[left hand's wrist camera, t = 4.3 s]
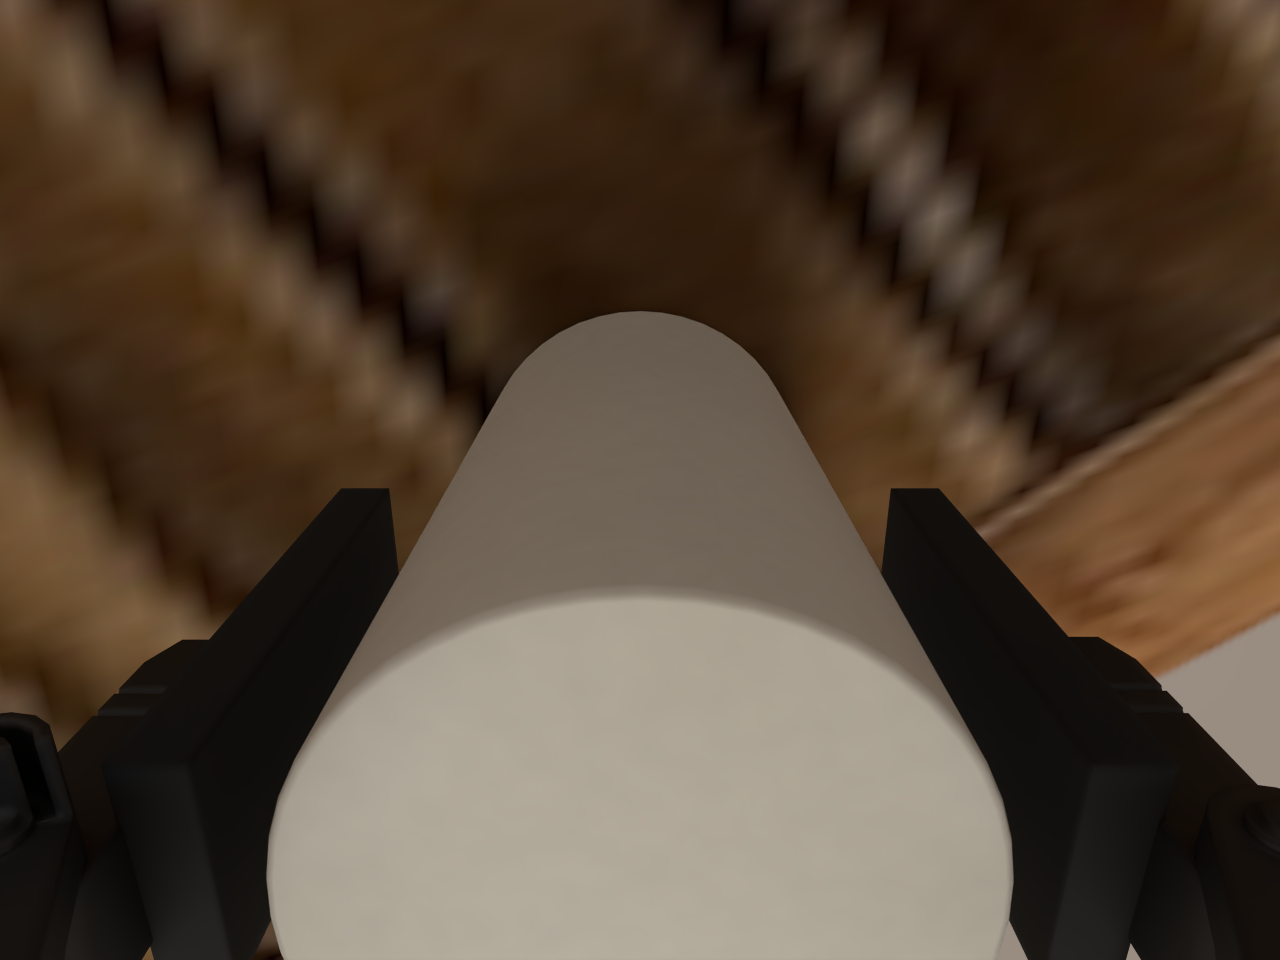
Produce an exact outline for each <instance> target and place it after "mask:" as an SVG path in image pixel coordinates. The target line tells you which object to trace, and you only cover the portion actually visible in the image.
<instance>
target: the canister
mask: <svg viewBox="0 0 1280 960" xmlns="http://www.w3.org/2000/svg"><path fill="white" fill-rule="evenodd" d="M266 875H267V888H268V897H269V906H270V915H271V920H272V923H273V927H274V930H275V934H276V937H277V941H278V944H279V948H280V951H281V954H282V956H283V958H284V960H996V959H997V957H998V954H999V951H1000V948H1001V944H1002V941H1003V938H1004V934H1005V931H1006V927H1007V924H1008V921H1009V915H1010V906H1011V898H1012V890H1013V880H1014V875H1013V854H1012V837H1011V833H1010V829H1009V824H1008V820H1007V815H1006V811H1005V807H1004V802H1003V799H1002V797H1001V794H1000V792H999V789H998V787H997V785H996V782H995V780H994V778H993V775H992V773H991V770H990V768H989V766H988V763H987V761H986V760H985V758H984V756H983V754H982V752H981V751H980V749H979V747H978V745H977V744H976V742H975V740H974V738H973V736H972V735H971V733H970V731H969V729H968V728H967V726H966V724H965V722H964V721H963V719H962V717H961V715H960V713H959V712H958V710H957V708H956V706H955V705H954V703H953V701H952V699H951V697H950V696H949V694H948V692H947V690H946V689H945V687H944V685H943V683H942V681H941V680H940V678H939V676H938V674H937V673H936V671H935V669H934V667H933V665H932V664H931V662H930V660H929V658H928V657H927V655H926V653H925V651H924V650H923V648H922V646H921V644H920V642H919V641H918V639H917V637H916V635H915V634H914V632H913V630H912V628H911V626H910V625H909V623H908V621H907V619H906V618H905V616H904V614H903V612H902V610H901V609H900V607H899V605H898V603H897V602H896V600H895V598H894V596H893V595H892V593H891V591H890V589H889V587H888V586H887V584H886V582H885V580H884V579H883V577H882V575H881V573H880V571H879V570H878V568H877V566H876V564H875V563H874V561H873V559H872V557H871V555H870V554H869V552H868V550H867V548H866V547H865V545H864V543H863V541H862V540H861V538H860V536H859V534H858V532H857V531H856V529H855V527H854V525H853V524H852V522H851V520H850V518H849V516H848V515H847V513H846V511H845V509H844V508H843V506H842V504H841V502H840V500H839V499H838V497H837V495H836V493H835V492H834V490H833V488H832V486H831V485H830V483H829V481H828V479H827V477H826V476H825V474H824V472H823V470H822V469H821V467H820V465H819V463H818V461H817V460H816V458H815V456H814V454H813V453H812V451H811V449H810V447H809V445H808V444H807V442H806V440H805V438H804V437H803V435H802V433H801V431H800V430H799V428H798V426H797V424H796V422H795V421H794V419H793V417H792V415H791V414H790V412H789V410H788V408H787V406H786V405H785V403H784V401H783V399H782V398H781V396H780V394H779V392H778V391H777V389H776V387H775V386H774V384H773V383H772V381H771V379H770V378H769V376H768V375H767V373H766V372H765V371H764V370H763V369H762V367H761V366H760V365H759V364H758V363H757V361H756V360H755V359H754V358H753V357H752V356H751V355H750V354H748V353H747V352H746V351H745V350H744V349H743V348H742V347H741V346H740V345H738V344H737V343H735V342H734V341H732V340H731V339H730V338H728V337H727V336H725V335H724V334H722V333H720V332H718V331H716V330H714V329H712V328H710V327H708V326H706V325H705V324H702V323H699V322H696V321H693V320H691V319H688V318H685V317H681V316H676V315H671V314H666V313H660V312H646V311H635V312H619V313H614V314H609V315H604V316H599V317H596V318H593V319H590V320H587V321H584V322H581V323H578V324H576V325H574V326H572V327H570V328H568V329H566V330H564V331H562V332H560V333H558V334H557V335H555V336H554V337H552V338H551V339H549V340H548V341H546V342H545V343H543V344H542V345H541V346H539V347H538V348H537V349H536V350H535V351H534V352H533V353H532V354H530V355H529V356H528V357H527V358H526V359H525V360H524V362H523V363H522V364H521V365H520V366H519V367H518V369H517V370H516V371H515V372H514V373H513V375H512V376H511V378H510V380H509V381H508V383H507V384H506V386H505V387H504V389H503V391H502V392H501V394H500V396H499V398H498V399H497V401H496V403H495V405H494V407H493V408H492V410H491V412H490V414H489V415H488V417H487V419H486V421H485V423H484V424H483V426H482V428H481V430H480V431H479V433H478V435H477V437H476V439H475V440H474V442H473V444H472V446H471V447H470V449H469V451H468V453H467V454H466V456H465V458H464V460H463V462H462V463H461V465H460V467H459V469H458V470H457V472H456V474H455V476H454V478H453V479H452V481H451V483H450V485H449V486H448V488H447V490H446V492H445V494H444V495H443V497H442V499H441V501H440V502H439V504H438V506H437V508H436V509H435V511H434V513H433V515H432V517H431V518H430V520H429V522H428V524H427V525H426V527H425V529H424V531H423V533H422V534H421V536H420V538H419V540H418V541H417V543H416V545H415V547H414V548H413V550H412V552H411V554H410V556H409V557H408V559H407V561H406V563H405V564H404V566H403V568H402V570H401V572H400V573H399V575H398V577H397V579H396V580H395V582H394V584H393V586H392V588H391V589H390V591H389V593H388V595H387V596H386V598H385V600H384V602H383V603H382V605H381V607H380V609H379V611H378V612H377V614H376V616H375V618H374V619H373V621H372V623H371V625H370V627H369V628H368V630H367V632H366V634H365V635H364V637H363V639H362V641H361V643H360V644H359V646H358V648H357V650H356V651H355V653H354V655H353V657H352V658H351V660H350V662H349V664H348V666H347V667H346V669H345V671H344V673H343V674H342V676H341V678H340V680H339V682H338V683H337V685H336V687H335V689H334V690H333V692H332V694H331V696H330V698H329V699H328V701H327V703H326V705H325V706H324V708H323V710H322V712H321V713H320V715H319V717H318V719H317V721H316V722H315V724H314V726H313V728H312V729H311V731H310V733H309V735H308V737H307V738H306V740H305V742H304V744H303V745H302V747H301V749H300V751H299V753H298V754H297V756H296V758H295V760H294V762H293V764H292V766H291V769H290V771H289V773H288V776H287V778H286V780H285V783H284V785H283V787H282V789H281V792H280V794H279V796H278V800H277V804H276V808H275V812H274V816H273V820H272V824H271V829H270V833H269V841H268V857H267V873H266Z"/></svg>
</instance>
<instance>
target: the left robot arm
mask: <svg viewBox="0 0 1280 960" xmlns="http://www.w3.org/2000/svg"><path fill="white" fill-rule="evenodd" d="M398 575H399V573H398V564H397V555H396V546H395V537H394V528H393V519H392V510H391V501H390V493H389V488H341V489H340V491H339V492H338V493H337V494H336V495H335V496H334V497H333V499H332V500H331V501H330V502H329V503H328V504H327V505H326V507H325V508H324V509H323V510H322V511H321V512H320V513H319V515H318V516H317V517H316V518H315V519H314V520H313V521H312V523H311V524H310V525H309V526H308V527H307V528H306V529H305V531H304V532H303V533H302V534H301V535H300V536H299V537H298V539H297V540H296V541H295V542H294V543H293V544H292V545H291V547H290V548H289V549H288V550H287V551H286V552H285V553H284V555H283V556H282V557H281V558H280V559H279V560H278V561H277V563H276V564H275V565H274V566H273V567H272V568H271V569H270V571H269V572H268V573H267V574H266V575H265V576H264V577H263V579H262V580H261V581H260V582H259V583H258V584H257V586H256V587H255V588H254V589H253V590H252V591H251V592H250V594H249V595H248V596H247V597H246V598H245V599H244V600H243V602H242V603H241V604H240V605H239V606H238V607H237V608H236V610H235V611H234V612H233V613H232V614H231V615H230V616H229V618H228V619H227V620H226V621H225V622H224V623H223V624H222V626H221V627H220V628H219V629H218V630H217V631H216V632H215V634H214V635H213V636H212V637H211V638H210V639H209V640H181V641H179V642H178V643H176V644H174V645H173V646H171V647H169V648H168V649H166V650H164V651H163V652H161V653H159V654H158V655H156V656H154V657H153V658H151V659H149V660H148V661H146V662H144V663H143V664H142V665H141V667H140V668H139V669H138V670H137V671H136V672H135V673H134V674H133V675H132V676H131V677H130V678H129V679H128V680H127V681H126V682H125V683H124V684H123V685H122V686H121V687H120V688H119V694H114V695H113V696H112V697H111V698H110V699H109V700H108V701H107V702H106V703H105V704H104V705H103V706H102V707H101V708H100V709H99V710H98V716H92V718H91V719H90V720H89V721H88V722H87V723H86V724H85V725H84V726H83V727H82V728H81V729H80V730H79V731H78V732H77V733H76V734H75V735H74V736H73V737H72V738H71V739H70V740H69V741H68V742H67V744H66V745H65V746H64V747H63V748H62V749H61V750H60V751H59V752H57V749H56V745H55V742H54V739H53V735H52V732H51V728H50V725H49V724H47V723H46V722H44V721H43V720H42V719H40V718H39V717H37V716H36V715H29V714H21V713H13V712H10V713H1V714H0V960H142V959H143V957H144V955H145V954H146V952H147V950H148V949H149V947H151V950H152V954H153V957H154V960H252V959H253V957H254V955H255V952H256V950H257V948H258V946H259V944H260V942H261V940H262V938H263V936H264V934H265V931H266V929H267V927H268V925H269V923H270V921H271V915H270V906H269V897H268V888H267V875H266V873H267V857H268V841H269V833H270V829H271V824H272V820H273V816H274V812H275V808H276V804H277V800H278V796H279V794H280V792H281V789H282V787H283V785H284V783H285V780H286V778H287V776H288V773H289V771H290V769H291V766H292V764H293V762H294V760H295V758H296V756H297V754H298V753H299V751H300V749H301V747H302V745H303V744H304V742H305V740H306V738H307V737H308V735H309V733H310V731H311V729H312V728H313V726H314V724H315V722H316V721H317V719H318V717H319V715H320V713H321V712H322V710H323V708H324V706H325V705H326V703H327V701H328V699H329V698H330V696H331V694H332V692H333V690H334V689H335V687H336V685H337V683H338V682H339V680H340V678H341V676H342V674H343V673H344V671H345V669H346V667H347V666H348V664H349V662H350V660H351V658H352V657H353V655H354V653H355V651H356V650H357V648H358V646H359V644H360V643H361V641H362V639H363V637H364V635H365V634H366V632H367V630H368V628H369V627H370V625H371V623H372V621H373V619H374V618H375V616H376V614H377V612H378V611H379V609H380V607H381V605H382V603H383V602H384V600H385V598H386V596H387V595H388V593H389V591H390V589H391V588H392V586H393V584H394V582H395V580H396V579H397V577H398ZM881 575H882V577H883V579H884V580H885V582H886V584H887V586H888V587H889V589H890V591H891V593H892V595H893V596H894V598H895V600H896V602H897V603H898V605H899V607H900V609H901V610H902V612H903V614H904V616H905V618H906V619H907V621H908V623H909V625H910V626H911V628H912V630H913V632H914V634H915V635H916V637H917V639H918V641H919V642H920V644H921V646H922V648H923V650H924V651H925V653H926V655H927V657H928V658H929V660H930V662H931V664H932V665H933V667H934V669H935V671H936V673H937V674H938V676H939V678H940V680H941V681H942V683H943V685H944V687H945V689H946V690H947V692H948V694H949V696H950V697H951V699H952V701H953V703H954V705H955V706H956V708H957V710H958V712H959V713H960V715H961V717H962V719H963V721H964V722H965V724H966V726H967V728H968V729H969V731H970V733H971V735H972V736H973V738H974V740H975V742H976V744H977V745H978V747H979V749H980V751H981V752H982V754H983V756H984V758H985V760H986V761H987V763H988V766H989V768H990V770H991V773H992V775H993V778H994V780H995V782H996V785H997V787H998V789H999V792H1000V794H1001V797H1002V799H1003V802H1004V807H1005V811H1006V815H1007V820H1008V824H1009V829H1010V833H1011V837H1012V854H1013V875H1014V880H1013V890H1012V898H1011V906H1010V915H1009V921H1010V923H1011V925H1012V927H1013V929H1014V931H1015V934H1016V936H1017V938H1018V940H1019V942H1020V944H1021V946H1022V948H1023V950H1024V952H1025V954H1026V957H1027V959H1028V960H1126V958H1127V954H1128V950H1129V947H1130V943H1131V944H1132V946H1133V947H1134V949H1135V951H1136V952H1137V954H1138V955H1139V957H1140V959H1141V960H1280V789H1279V788H1276V787H1268V786H1261V785H1257V784H1256V783H1255V782H1254V781H1253V780H1252V779H1251V778H1250V777H1249V776H1248V774H1247V773H1246V772H1245V771H1244V770H1243V769H1242V768H1241V767H1240V766H1239V765H1238V764H1237V763H1236V762H1235V761H1234V760H1233V759H1232V758H1231V757H1230V756H1229V755H1228V754H1227V753H1226V752H1225V751H1224V750H1223V749H1222V748H1221V747H1220V745H1219V744H1218V743H1217V742H1216V741H1215V740H1214V739H1213V738H1212V737H1211V736H1210V735H1209V734H1208V733H1207V732H1206V731H1205V730H1204V729H1203V728H1202V727H1201V726H1200V725H1199V724H1198V723H1197V722H1196V721H1195V720H1194V719H1193V718H1192V717H1191V716H1190V715H1189V714H1188V713H1183V707H1182V706H1181V705H1180V704H1179V703H1178V702H1177V701H1176V700H1175V699H1174V698H1173V697H1172V696H1171V695H1170V694H1169V693H1168V692H1167V691H1162V688H1161V685H1160V684H1159V682H1158V681H1157V680H1156V679H1155V678H1154V677H1153V676H1152V675H1151V674H1150V673H1149V672H1148V671H1147V670H1146V669H1145V668H1144V667H1143V666H1142V665H1141V664H1140V663H1139V662H1138V661H1137V660H1136V659H1135V658H1133V657H1131V656H1130V655H1128V654H1126V653H1125V652H1123V651H1121V650H1119V649H1118V648H1116V647H1114V646H1113V645H1111V644H1109V643H1108V642H1106V641H1104V640H1103V639H1101V638H1099V637H1068V636H1067V635H1066V634H1065V632H1064V631H1063V630H1062V629H1061V628H1060V627H1059V626H1058V624H1057V623H1056V622H1055V621H1054V620H1053V619H1052V618H1051V616H1050V615H1049V614H1048V613H1047V612H1046V611H1045V610H1044V608H1043V607H1042V606H1041V605H1040V604H1039V603H1038V602H1037V600H1036V599H1035V598H1034V597H1033V596H1032V595H1031V593H1030V592H1029V591H1028V590H1027V589H1026V588H1025V587H1024V585H1023V584H1022V583H1021V582H1020V581H1019V580H1018V579H1017V577H1016V576H1015V575H1014V574H1013V573H1012V572H1011V571H1010V569H1009V568H1008V567H1007V566H1006V565H1005V564H1004V563H1003V561H1002V560H1001V559H1000V558H999V557H998V556H997V555H996V553H995V552H994V551H993V550H992V549H991V548H990V547H989V545H988V544H987V543H986V542H985V541H984V540H983V539H982V537H981V536H980V535H979V534H978V533H977V532H976V531H975V529H974V528H973V527H972V526H971V525H970V524H969V523H968V521H967V520H966V519H965V518H964V517H963V516H962V515H961V513H960V512H959V511H958V510H957V509H956V508H955V507H954V505H953V504H952V503H951V502H950V501H949V500H948V499H947V497H946V496H945V495H944V494H943V493H942V492H941V491H940V489H939V488H891V493H890V502H889V510H888V519H887V528H886V537H885V546H884V555H883V564H882V573H881Z"/></svg>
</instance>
